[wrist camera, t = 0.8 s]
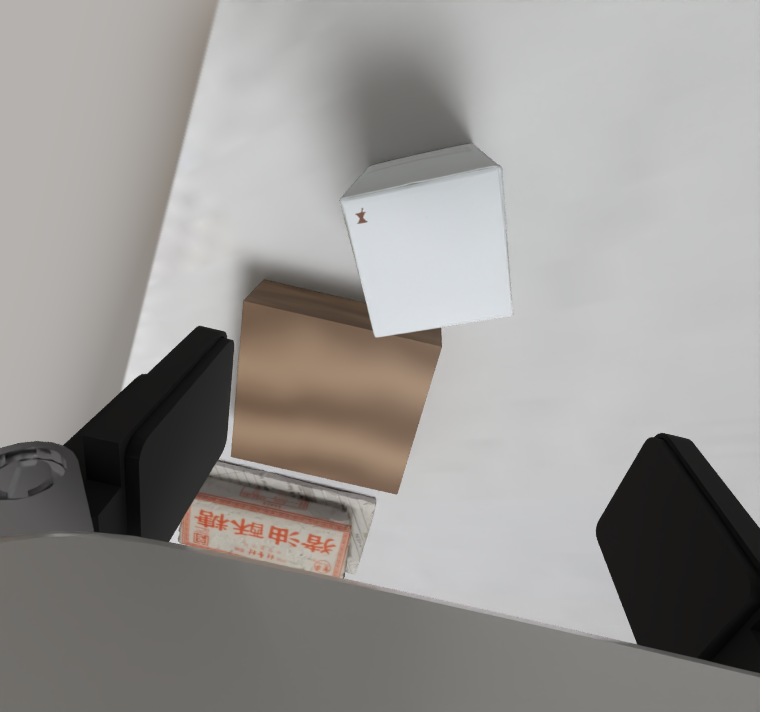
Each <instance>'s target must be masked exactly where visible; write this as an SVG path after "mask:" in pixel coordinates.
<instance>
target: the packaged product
mask: <svg viewBox="0 0 760 712" xmlns="http://www.w3.org/2000/svg"><path fill="white" fill-rule="evenodd" d="M375 507H376V499H374V498H371V497H367V496H363V495H360V494H354V493H348V492H342V491H337V490H334V489H331V488H328V487H323V486H320V485H316V484H312V483H308V482H304V481H300V480H297V479H292V478H288V477H285V476H282V475H278V474H275V473H270V472H266V471H261V470H255V469H249V468H245V467H241V466H236V465H231V464H227V463H223V462H220V461H217V462H216V464H215V466H214V467H213V469H212V471H211V472H210V474H209V476H208V477H207V479H206V481H205V482H204V484H203V486H202V487H201V489H200V491H199V492H198V494H197V496H196V497H195V499H194V501H193V502H192V504H191V506H190V507H189V509H188V511H187V512H186V514H185V516H184V517H183V519H182V521H181V524H180V528H179V532H180V535H179V537H178V542H179V543H181V544H185V545H189V546H193V547H198V548H203V549H209V550H213V551H218V552H223V553H228V554H232V555H237V556H242V557H247V558H251V559H256V560H261V561H266V562H270V563H275V564H279V565H284V566H289V567H293V568H298V569H302V570H307V571H311V572H316V573H320V574H325V575H330V576H334V577H339V578H343V579H344V577H345V572H347V573H350V574H356V571H357V568H358V565H359V562H360V558H361V555H362V551H363V548H364V545H365V542H366V539H367V536H368V532H369V529H370V525H371V522H372V519H373V515H374V511H375Z"/></svg>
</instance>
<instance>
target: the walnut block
mask: <svg viewBox="0 0 760 712" xmlns="http://www.w3.org/2000/svg"><path fill="white" fill-rule="evenodd" d="M441 348H442V337H441V328H435V329H428V330H422V331H416V332H409V333H403V334H396V335H390V336H384V337H375V336H374V333H373V329H372V325H371V321H370V316H369V312H368V308H367V304H366V303H363V302H359V301H354V300H350V299H346V298H341V297H337V296H333V295H329V294H324V293H320V292H316V291H311V290H307V289H303V288H298V287H294V286H290V285H285V284H281V283H277V282H272V281H268V280H263V281H262V282H261V283H260V284H259V285H258V286H257V287H256V288H255V289H254V290H253V292H252V293H251V294H250V295H249V296H248V297H247V298H246V299H245V300H244V301H243V313H242V326H241V338H240V351H239V363H238V375H237V388H236V400H235V413H234V425H233V437H232V450H231V457H234V458H238V459H243V460H247V461H252V462H256V463H260V464H265V465H269V466H274V467H278V468H282V469H287V470H291V471H296V472H300V473H304V474H309V475H313V476H318V477H322V478H326V479H331V480H335V481H340V482H344V483H348V484H353V485H357V486H362V487H366V488H370V489H375V490H379V491H384V492H388V493H392V494H397V493H398V490H399V487H400V483H401V480H402V477H403V474H404V470H405V467H406V464H407V460H408V457H409V454H410V450H411V447H412V444H413V440H414V437H415V434H416V431H417V427H418V424H419V421H420V417H421V414H422V411H423V407H424V404H425V401H426V398H427V394H428V391H429V388H430V384H431V381H432V378H433V374H434V371H435V368H436V364H437V361H438V358H439V355H440V351H441Z"/></svg>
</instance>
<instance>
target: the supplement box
mask: <svg viewBox="0 0 760 712" xmlns="http://www.w3.org/2000/svg"><path fill="white" fill-rule="evenodd" d="M339 201H340V204H341V208H342V212H343V216H344V220H345V223H346V227H347V231H348V235H349V239H350V242H351V246H352V250H353V254H354V258H355V262H356V265H357V269H358V273H359V277H360V281H361V284H362V288H363V292H364V296H365V300H366V304H367V308H368V312H369V316H370V321H371V325H372V329H373V333H374V336H375V337H384V336H390V335H396V334H403V333H409V332H416V331H422V330H428V329H435V328H441V327H447V326H453V325H460V324H466V323H472V322H478V321H484V320H490V319H496V318H502V317H510V316H512V315H513V309H512V295H511V283H510V270H509V256H508V242H507V227H506V213H505V200H504V187H503V173H502V167H501V166H500V165H498V164H497V163H496V162H494V161H493V160H492V159H491V158H489V157H488V156H487V155H486V154H485V153H484V152H482V151H481V150H480V149H479V148H477V147H476V146H475V145H474V144H472V143H470V144H465V145H460V146H454V147H450V148H445V149H440V150H436V151H431V152H426V153H421V154H417V155H413V156H408V157H404V158H400V159H396V160H391V161H387V162H383V163H379V164H375V165H370V166H369V167H368V168H367V169H366V170H365V172H364V173H363V174H362V175H361V176H360V177H359V178H358V179H357V180H356V182H355V183H354V184H353V185H352V186H351V187H350V188H349V189H348V190H347V192H346V193H345V194H344V195H343V196H342V197H341V198H340V200H339Z"/></svg>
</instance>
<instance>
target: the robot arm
mask: <svg viewBox="0 0 760 712" xmlns="http://www.w3.org/2000/svg"><path fill="white" fill-rule="evenodd" d="M233 354H234V341H233V340H230V339H227V335H226V332H224V331H220V330H216V329H211V328H207V327H203V326H198V327H196V328H195V329H194V330H193V331H192V332H191V333H190V334H189V335H188V336H187V337H186V338H185V339H184V340H182V341H181V342H180V343H179V344H178V345H177V346H176V347H175V348H174V349H173V350H172V351H171V352H170V353H169V354H168V355H167V356H166V357H164V358H163V359H162V360H161V361H160V362H159V363H158V364H157V365H156V366H155V367H154V368H153V369H152V370H151V371H150V372H149V373H148V374H141V375H140V376H138V377H137V378H136V379H134V380H133V381H132V382H131V383H130V384H129V385H128V386H127V387H126V388H125V389H124V390H123V391H121V392H120V393H119V394H118V395H117V396H116V397H115V398H114V399H113V400H112V401H111V402H110V403H109V404H107V405H106V406H105V407H104V408H103V409H102V410H101V411H100V412H99V413H98V414H97V415H96V416H95V417H93V418H92V419H91V420H90V421H89V422H88V423H87V424H86V425H85V426H84V427H83V428H82V429H80V430H79V431H78V432H77V433H76V434H75V435H74V436H73V437H72V438H71V439H70V440H69V441H67V442H66V443H65V444H64V445H59V444H56V443H52V442H40V441H34V442H25V443H17V444H14V445H10V446H6V447H2V448H0V712H760V528H759V527H758V526H757V524H756V523H755V522H754V520H753V519H752V518H751V517H750V515H749V514H748V513H747V511H746V510H745V509H744V508H743V506H742V505H741V504H740V502H739V501H738V500H737V499H736V497H735V496H734V495H733V493H732V492H731V491H730V490H729V488H728V487H727V486H726V484H725V483H724V482H723V481H722V479H721V478H720V477H719V475H718V474H717V473H716V472H715V470H714V469H713V468H712V466H711V465H710V464H709V463H708V461H707V460H706V459H705V457H704V456H703V455H702V454H701V452H700V451H699V450H698V448H697V447H696V446H695V445H694V443H693V442H692V441H691V440H690V439H686V438H682V437H678V436H674V435H669V434H665V433H660V434H657V435H656V436H655V437H651V438H648V439H647V440H646V441H645V443H644V445H643V446H642V448H641V450H640V451H639V453H638V455H637V456H636V458H635V460H634V462H633V463H632V465H631V467H630V468H629V470H628V472H627V473H626V475H625V477H624V479H623V480H622V482H621V484H620V485H619V487H618V489H617V490H616V492H615V494H614V496H613V497H612V499H611V501H610V502H609V504H608V506H607V507H606V509H605V511H604V513H603V514H602V516H601V518H600V519H599V521H598V523H597V527H596V537H597V540H598V543H599V546H600V548H601V551H602V553H603V556H604V559H605V561H606V564H607V567H608V569H609V572H610V574H611V577H612V580H613V582H614V585H615V587H616V590H617V593H618V595H619V598H620V600H621V603H622V606H623V608H624V611H625V613H626V616H627V619H628V621H629V624H630V627H631V629H632V632H633V634H634V637H635V640H636V642H637V644H632V643H628V642H624V641H619V640H615V639H611V638H606V637H602V636H598V635H593V634H589V633H585V632H580V631H576V630H572V629H567V628H563V627H558V626H554V625H550V624H545V623H541V622H536V621H532V620H528V619H523V618H519V617H514V616H510V615H505V614H501V613H497V612H492V611H488V610H483V609H479V608H474V607H470V606H465V605H461V604H456V603H452V602H447V601H443V600H439V599H434V598H430V597H425V596H421V595H416V594H412V593H407V592H403V591H398V590H394V589H389V588H384V587H380V586H375V585H371V584H366V583H362V582H357V581H352V580H348V579H343V578H339V577H334V576H330V575H325V574H320V573H316V572H311V571H307V570H302V569H298V568H293V567H289V566H284V565H279V564H275V563H270V562H266V561H261V560H256V559H251V558H247V557H242V556H237V555H232V554H228V553H223V552H218V551H213V550H209V549H203V548H198V547H193V546H187V545H182V544H176V543H171V542H169V541H170V539H171V537H172V536H173V534H174V532H175V531H176V529H177V527H178V526H179V524H180V522H181V521H182V519H183V517H184V516H185V514H186V512H187V511H188V509H189V507H190V506H191V504H192V502H193V501H194V499H195V497H196V496H197V494H198V492H199V491H200V489H201V487H202V486H203V484H204V482H205V481H206V479H207V477H208V476H209V474H210V472H211V471H212V469H213V467H214V466H215V464H216V462H217V461H218V459H219V457H220V456H221V454H222V452H223V450H224V447H225V444H226V440H227V431H228V418H229V406H230V393H231V380H232V367H233Z"/></svg>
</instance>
